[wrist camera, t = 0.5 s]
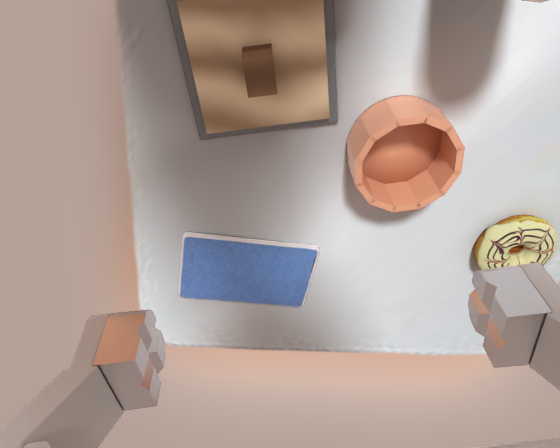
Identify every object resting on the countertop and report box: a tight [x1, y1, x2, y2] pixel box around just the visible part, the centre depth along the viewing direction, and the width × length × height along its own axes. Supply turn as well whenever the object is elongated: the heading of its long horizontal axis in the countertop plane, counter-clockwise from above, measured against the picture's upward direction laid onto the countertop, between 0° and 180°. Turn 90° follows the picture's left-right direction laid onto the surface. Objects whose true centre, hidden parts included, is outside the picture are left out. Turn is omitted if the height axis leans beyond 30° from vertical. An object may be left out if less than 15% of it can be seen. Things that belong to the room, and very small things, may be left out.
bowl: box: [347, 95, 465, 212], centre depth 55 cm, size 12×12×6 cm
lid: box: [177, 0, 330, 134], centre depth 48 cm, size 14×14×4 cm
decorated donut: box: [474, 215, 558, 270], centre depth 66 cm, size 10×11×4 cm
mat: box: [167, 0, 338, 140], centre depth 50 cm, size 16×16×1 cm
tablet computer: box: [178, 232, 320, 307], centre depth 68 cm, size 19×13×1 cm, turn 80°
